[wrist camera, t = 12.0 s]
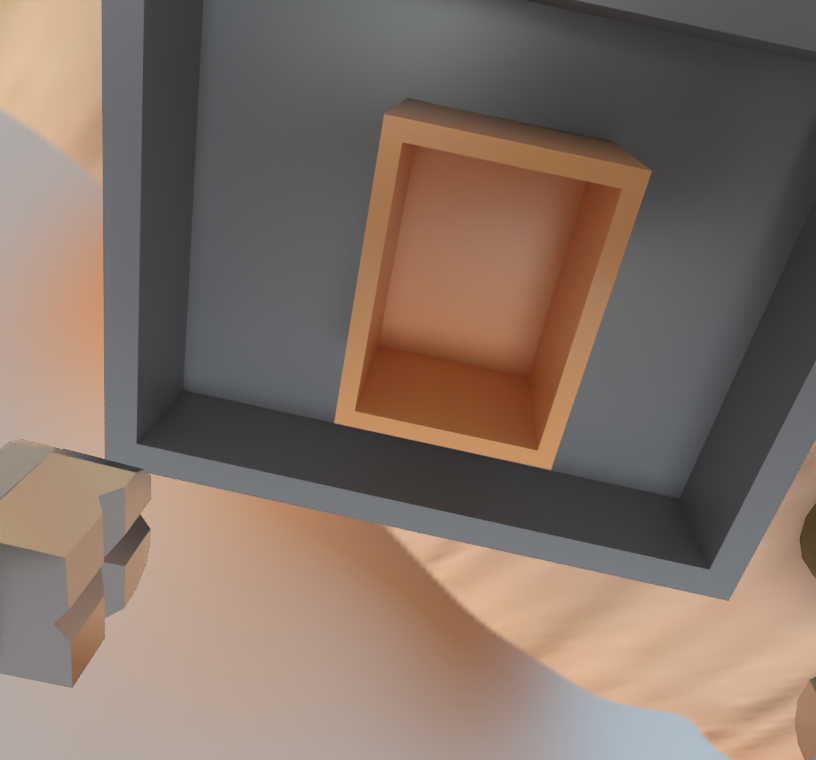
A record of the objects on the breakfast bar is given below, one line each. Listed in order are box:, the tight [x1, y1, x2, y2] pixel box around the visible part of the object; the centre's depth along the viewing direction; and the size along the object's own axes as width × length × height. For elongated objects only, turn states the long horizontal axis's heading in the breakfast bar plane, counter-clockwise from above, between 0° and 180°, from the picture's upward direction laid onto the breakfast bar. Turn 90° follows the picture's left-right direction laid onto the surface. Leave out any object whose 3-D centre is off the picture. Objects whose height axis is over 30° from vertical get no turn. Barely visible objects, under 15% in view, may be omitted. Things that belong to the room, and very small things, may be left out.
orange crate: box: [334, 98, 652, 470], centre depth 19 cm, size 6×8×5 cm
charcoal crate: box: [102, 0, 816, 601], centre depth 20 cm, size 20×16×4 cm
